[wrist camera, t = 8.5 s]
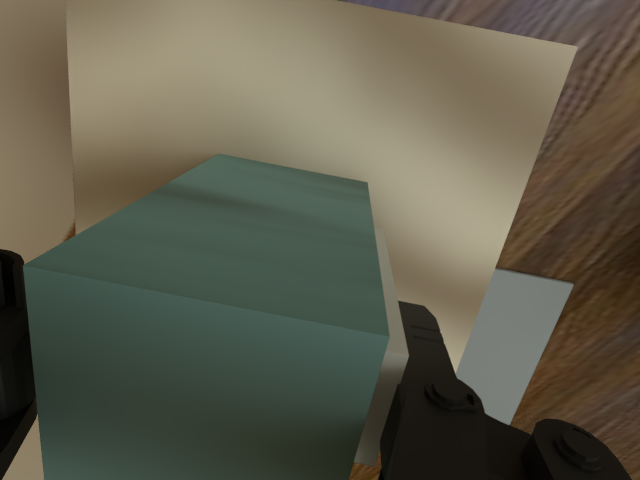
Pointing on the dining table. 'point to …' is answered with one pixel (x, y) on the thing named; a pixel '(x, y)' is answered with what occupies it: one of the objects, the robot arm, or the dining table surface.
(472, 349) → the mat
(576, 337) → the dining table surface
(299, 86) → the lid
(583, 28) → the dining table surface
